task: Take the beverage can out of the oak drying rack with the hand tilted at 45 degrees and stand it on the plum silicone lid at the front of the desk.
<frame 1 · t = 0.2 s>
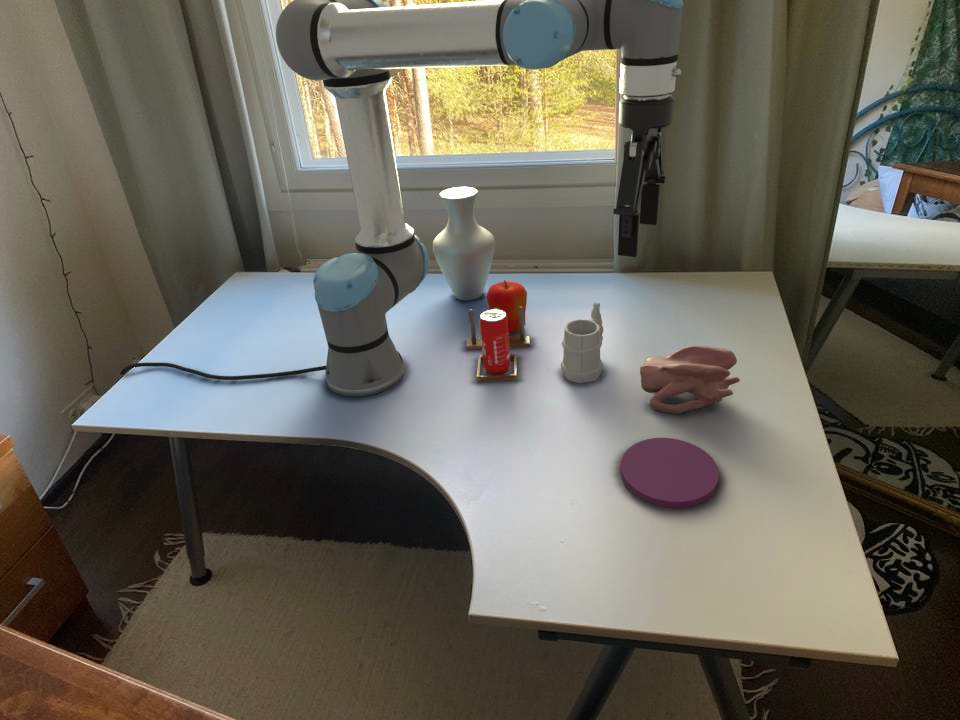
hand: (638, 238, 99), 28 cm above the table, tool pointing down, fingers open, 13 cm apart
lid: (668, 473, 93), on the table
beverage can: (497, 370, 121), resting in rack
vase: (468, 295, 150), on the table
mug: (586, 368, 120), on the table
apple: (508, 330, 134), on the table
figurine: (685, 398, 109), on the table
rack: (497, 369, 121), on the table
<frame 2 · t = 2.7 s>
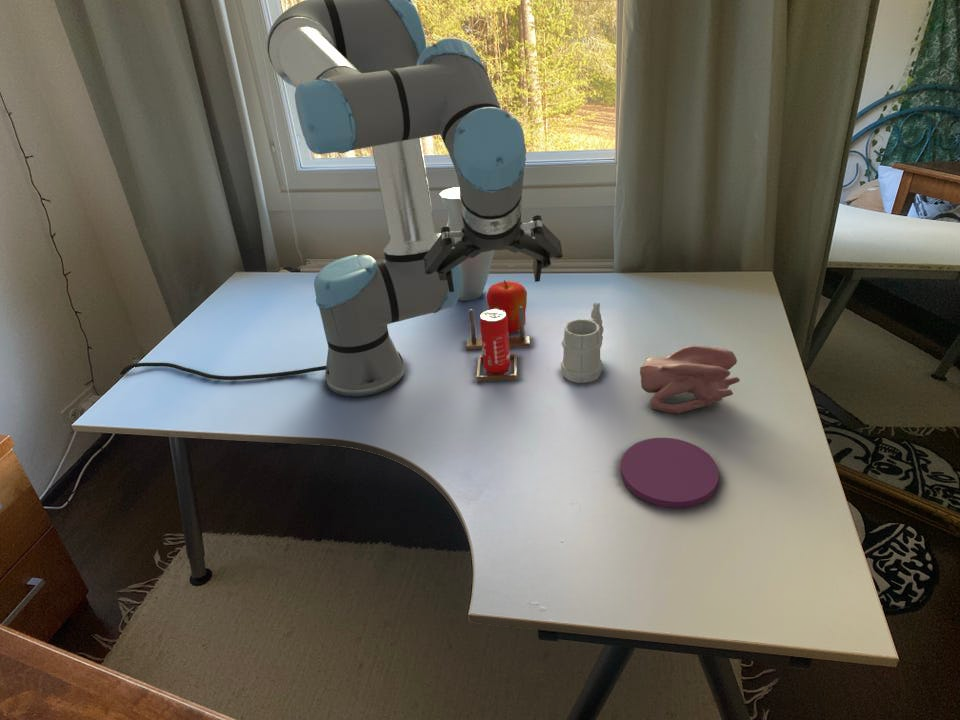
hand: (493, 279, 99), 24 cm above the table, tool tilted 40°, fingers open, 13 cm apart
nothing on the table moved.
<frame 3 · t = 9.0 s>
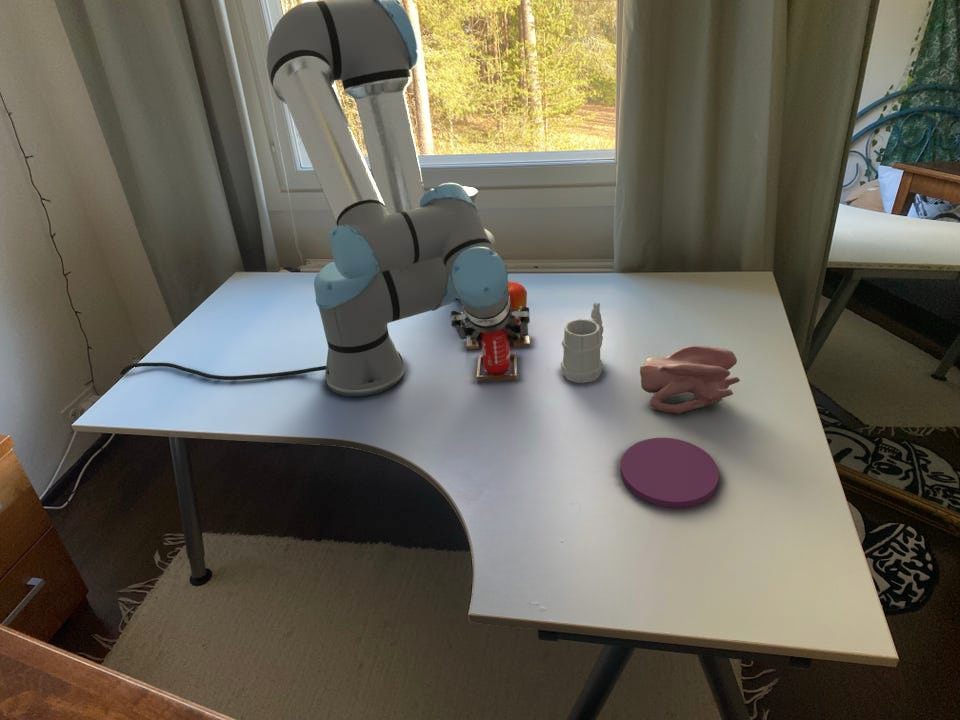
hand: (496, 340, 122), 4 cm above the table, tool tilted 45°, fingers closed on beverage can, 5 cm apart
beverage can: (497, 370, 121), resting in rack, touching gripper
everything else where it was.
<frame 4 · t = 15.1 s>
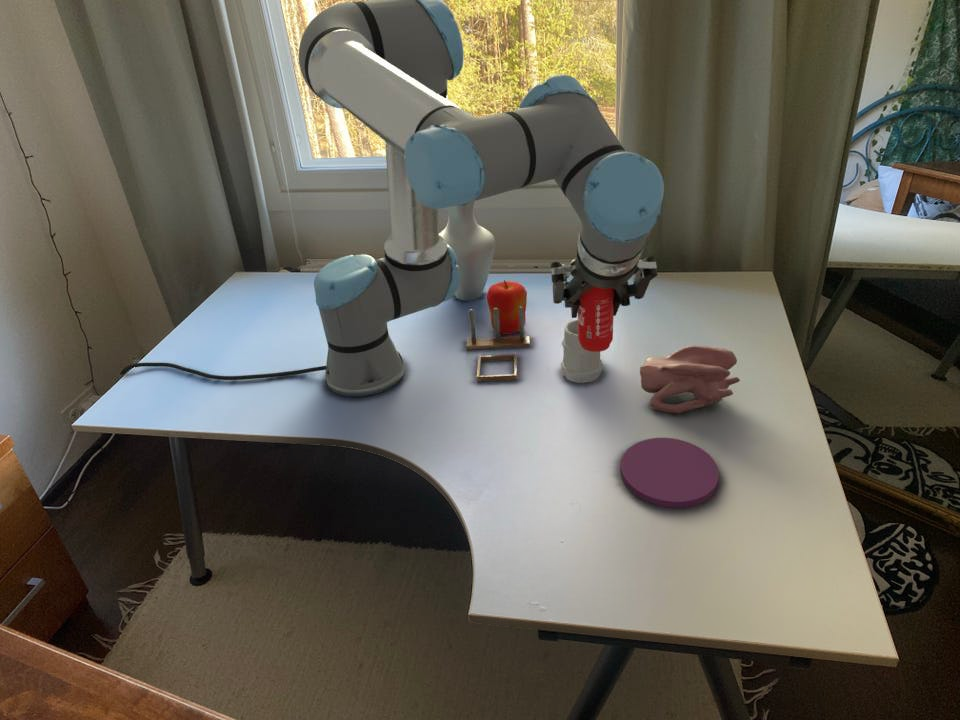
hand: (592, 308, 96), 21 cm above the table, tool tilted 45°, fingers closed on beverage can, 5 cm apart
beverage can: (595, 345, 95), point 16 cm above the table, touching gripper
everything else where it was.
when the fingers open (5 cm above the table, at t = 21.2 s): beverage can stays where it is, resting on lid.
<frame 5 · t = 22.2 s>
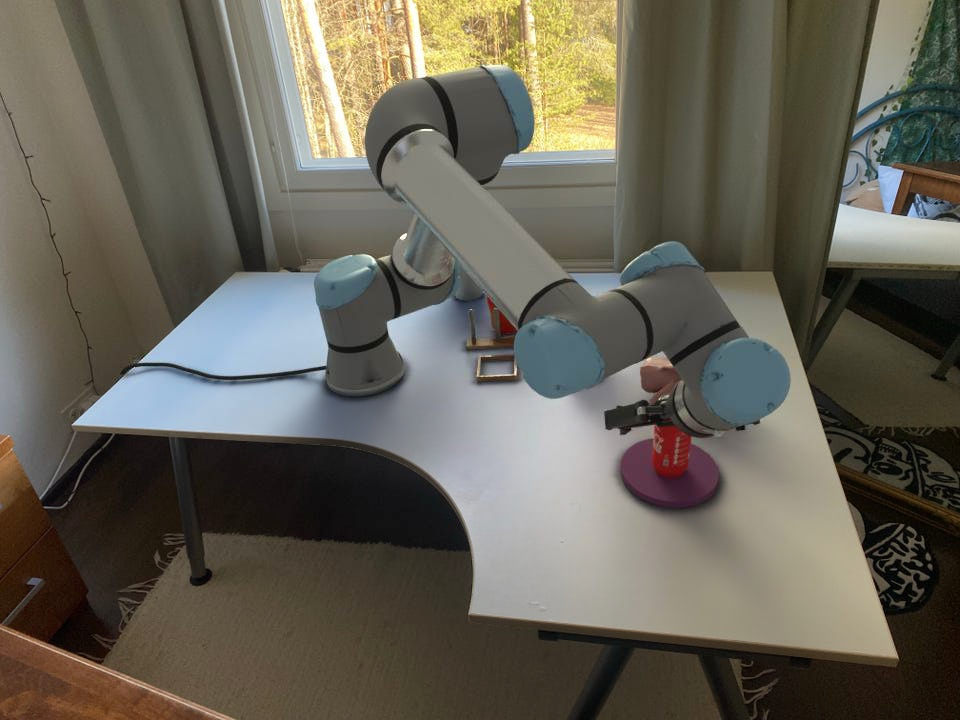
hand: (668, 424, 91), 8 cm above the table, tool tilted 45°, fingers open, 13 cm apart
beverage can: (669, 468, 93), point 1 cm above the table, touching lid
everything else where it was.
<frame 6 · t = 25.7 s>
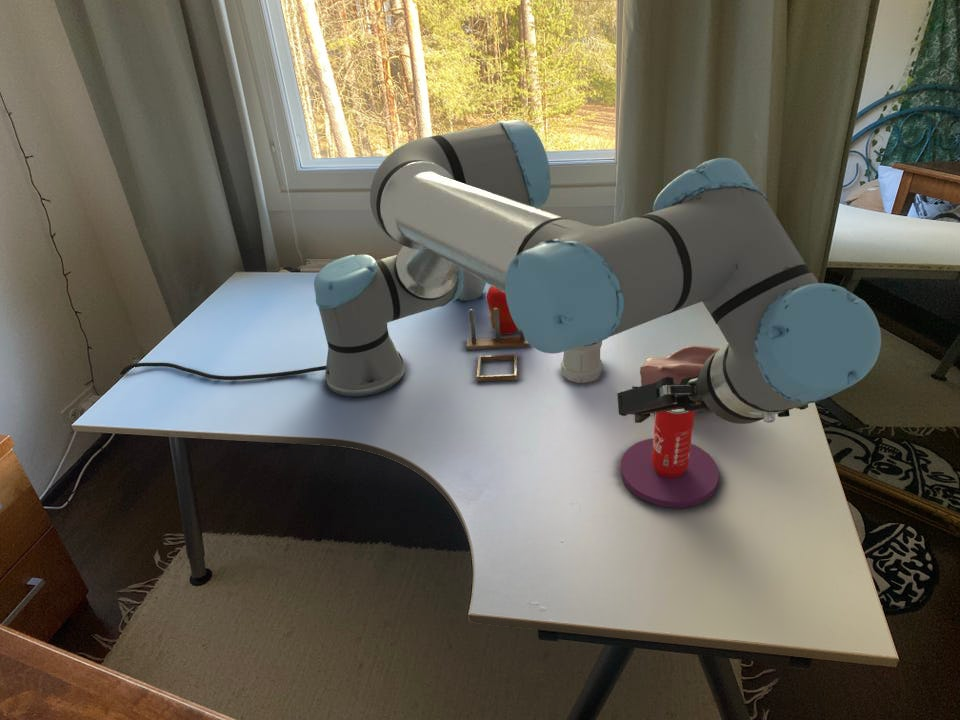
hand: (693, 410, 77), 18 cm above the table, tool tilted 45°, fingers open, 13 cm apart
nothing on the table moved.
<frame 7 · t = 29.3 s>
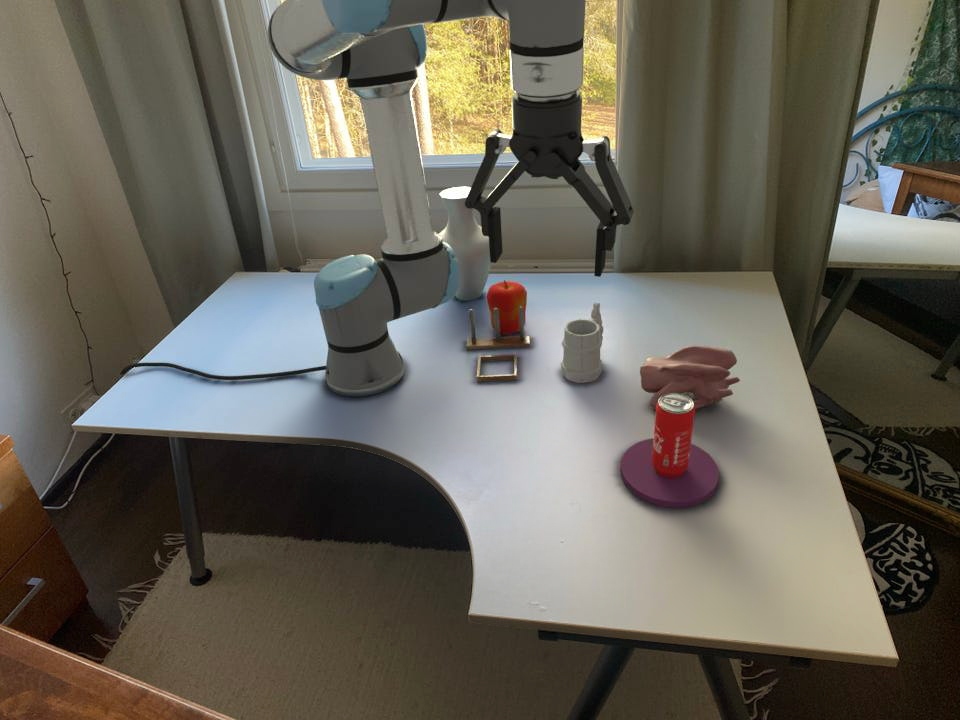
hand: (546, 264, 80), 33 cm above the table, tool pointing down, fingers open, 13 cm apart
nothing on the table moved.
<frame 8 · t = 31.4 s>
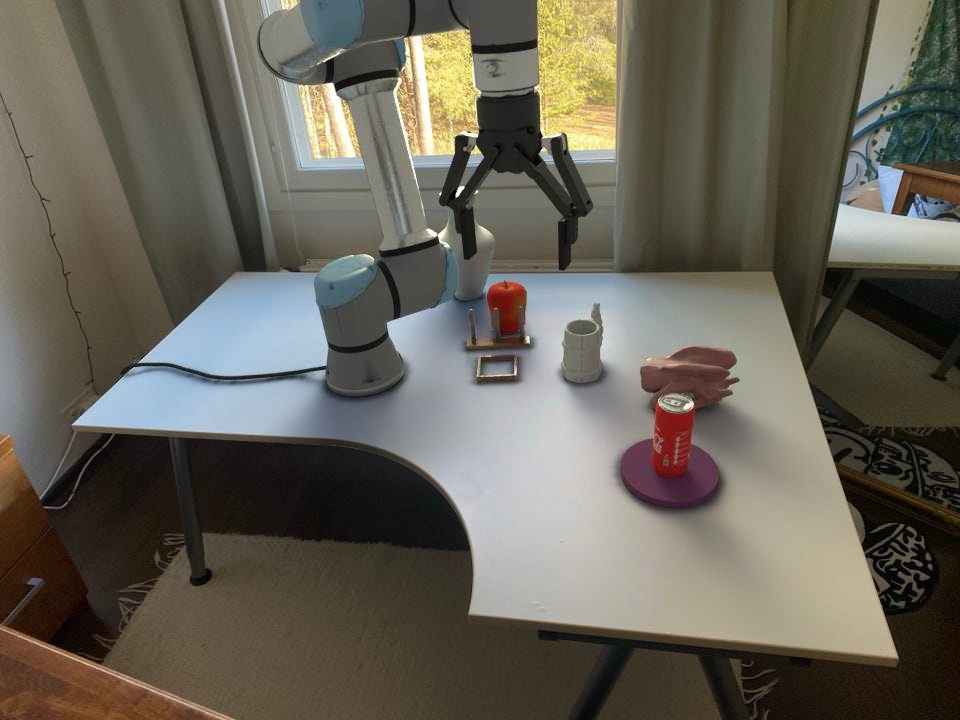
hand: (516, 261, 83), 33 cm above the table, tool pointing down, fingers open, 13 cm apart
nothing on the table moved.
at the end: beverage can inside the target area on the lid (0.1 cm from its centre), point 1.0 cm above the lid's base; beverage can tilted 0°; the gripper is holding nothing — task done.
